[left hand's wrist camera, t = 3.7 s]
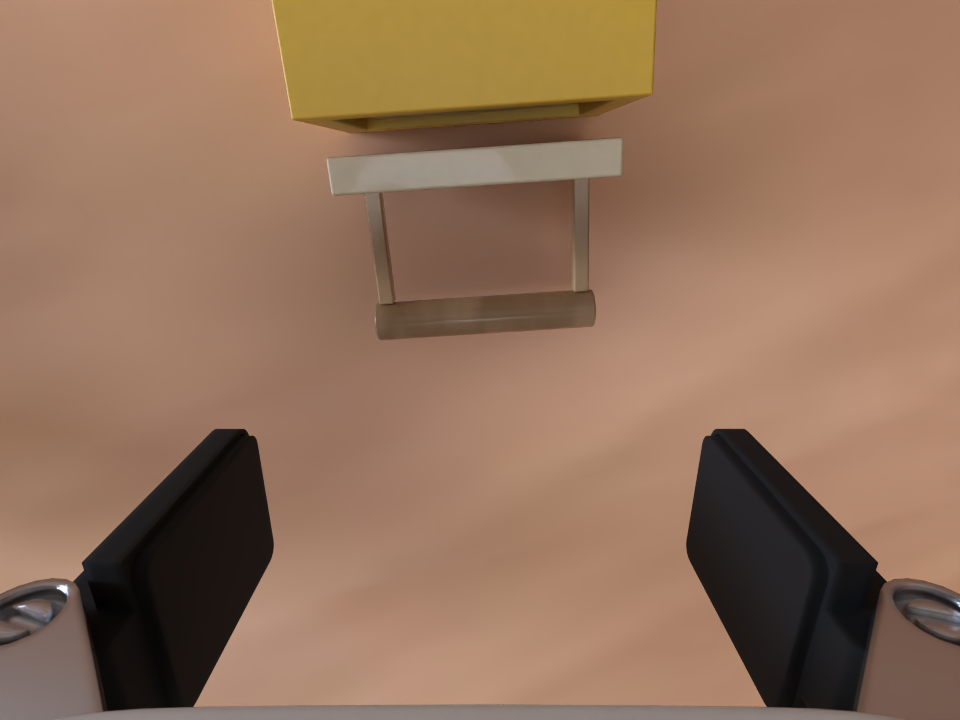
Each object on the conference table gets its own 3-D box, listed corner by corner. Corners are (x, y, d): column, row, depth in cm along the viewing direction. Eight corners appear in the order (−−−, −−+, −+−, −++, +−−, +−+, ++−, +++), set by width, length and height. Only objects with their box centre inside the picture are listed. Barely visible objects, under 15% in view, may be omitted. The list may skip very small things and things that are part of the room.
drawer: (586, 304, 26) (618, 345, 20) (383, 318, 26) (357, 362, 20) (589, -374, 18) (644, -632, 12) (295, -349, 18) (209, -592, 12)
